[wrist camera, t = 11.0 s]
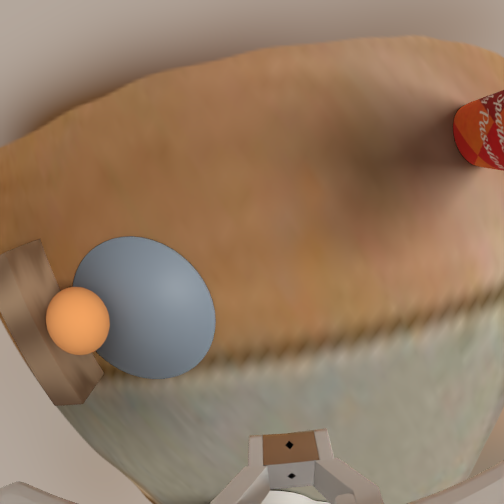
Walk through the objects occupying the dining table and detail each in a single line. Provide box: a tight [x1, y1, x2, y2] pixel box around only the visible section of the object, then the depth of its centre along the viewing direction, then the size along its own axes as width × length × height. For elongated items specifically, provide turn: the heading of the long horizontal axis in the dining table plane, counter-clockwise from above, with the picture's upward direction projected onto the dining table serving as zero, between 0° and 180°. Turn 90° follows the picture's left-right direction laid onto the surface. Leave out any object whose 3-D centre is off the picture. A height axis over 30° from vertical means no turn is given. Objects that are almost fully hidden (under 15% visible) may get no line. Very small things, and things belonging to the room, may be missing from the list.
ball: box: [46, 287, 110, 355], centre depth 21 cm, size 6×6×6 cm
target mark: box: [73, 236, 216, 379], centre depth 24 cm, size 13×13×1 cm
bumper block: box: [0, 239, 104, 406], centre depth 22 cm, size 14×4×5 cm, turn 19°
